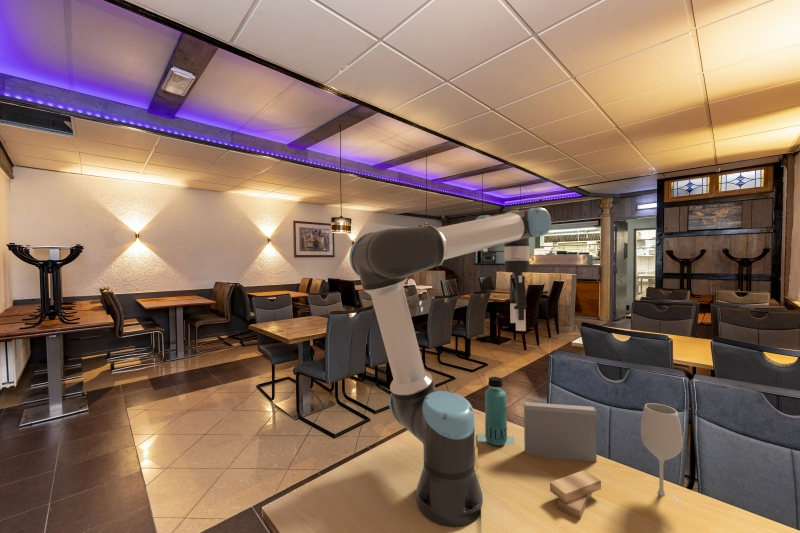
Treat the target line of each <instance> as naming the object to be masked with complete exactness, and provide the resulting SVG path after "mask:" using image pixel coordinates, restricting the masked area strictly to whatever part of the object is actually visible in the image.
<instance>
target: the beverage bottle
mask: <svg viewBox="0 0 800 533" xmlns="http://www.w3.org/2000/svg"><path fill="white" fill-rule="evenodd" d="M488 386H489V388H487V389H486V390H485V391H484V398H485V399H484V400H485V402H484V407H485V419H484V424H485V425H484V434H485V438H486V440H487V441H488V442H487V443H489V444H491V445H494V446H502V445H506V444H505V443H506V441H507V436H508V421H507V413H508V409H507V408H508V407H507V406H508V405H507V393H506V391H505V390H503V388H501V387H503V379H502V377H499V376H490V377H488Z"/></svg>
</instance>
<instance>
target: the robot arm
mask: <svg viewBox="0 0 800 533" xmlns="http://www.w3.org/2000/svg"><path fill="white" fill-rule="evenodd" d="M550 215H551V214H550V213H549V211H548V210H547V209H546V208H543V207H541V206H540V207H531V208H528V209H523V210H510V211H506V212H504V213H502V214H496V215H489V214H486V215H479V216H477V217H476V218H475V220H470V221H468V220H467V221H464V222H460V223H456V224H450V225H444V226H440V227H436V226H434V225H432V224H427V225H424V226H414V227H395V228H393V227H392V228H385V229H382V230H379V231H372V232H368V233H365V234H363V235H362V236H360V237H358V238H357V239H356V240H355V241H354V243H353V244H352V245H351V247H350V250H349V258H348V259H349V264H350V266H351V268H352V270H353V272H354V273H355V274H356V276H358V277H359V280H360V282H361V286H362V290H363V291H364V293H367V294H369V295H370V297H371V300H372V304H373V308H374V311H375V315H376V320H377V324H378V326H379V330H380V334H381V338H382V341H383V344H384V348H385V352H386V356H387V359H388V365H389V367H390V370H391V375H392V378H393V379H392V381H391V383H390V385H389V388H390V394H389V398H388V403H389V404H388V406H389V410H390V412H391V413H392V416H393V417H394V419H395V420H396V421H397V423H398V424H400V425H401V426H403V427H404V428H405V429H406V430H407V431H408V432H409V433H410V434H412V435H413V436H414V437H415V438H416V439H417V440H419V441H420V442H421V443H422V445H423V467H422V470H421V473H420V476H419V479H418V483H417V487H416V504H417V507H418V509H419V511H420V512H421V513H422V514H423V516H424V517H426V518H427V519H428V520H430V521H431V522H434V523H436V524H439V525H442V526H445V527H446V526H447V527H461V526H465V525H468V524H471V523H473V522H474V521H476V520H477V519H479V517H480V515H481V514H482V506H483V505H484V504H483V503H484V502H483V501H484V497H483V496H484V495H483V491H482V488H481V486H480V482H479V479H478V475H477V473H476V470H475V469H476V468H475V434H476V433H475V432H476V430H475V427H476V426H475V425H476V422H475V416H474V414H475V413H474V409H473V406H472V404H471V402H470V401H469V400H467V399H466V398H465V397H464V396H462V395H460V394H458V393H456V392H450V391H447V390H446V391H445V390H436V386H435V382H434V379H433V375H432V374H431V373H430V372H428V371H426V370H425V367H424V363H423V358H422V354H421V351H420V346H419V343H418V340H417V335H416V331H415V328H414V323H413V320H412V316H411V315H412V314H411V312H410V307H409V304H408V303H409V302H408V300H407V296H406V292H405V291H406V290H405V287H404V286H405V284H406V283H407V280H408V277H409V276H411V275H415V274H417V273H421V272H423V271H426V270H430V269H432V268H433V269H434V268H436V267H439V266H441V265H442V264H443V263H444V261H445V260H448V259H452V258H455V257H456V258H457V257H460V256H464V255H467V254H472V253H474V252H479V251H483V250H486V249H489V248H493V247H498V246H500V245H504V248H503V250H504V251H503V252H504V256H503V257H504V258H503V259H504V260H505V261H504V272H505V273H507V274H508V273H510V275H509V277H510V278H509V283H510V284H509V299H508V300H509V304H510V306H509V308H510V309H509V311H510V312H509V313H510V316H509V319H510V321H509V322H510V324H515V331H516V332H517V331H518V332H526V331H527V325H526V324H527V320H526V315H527V314H526V312H527V309H526V308H528V304H527V294H526V292H527V291H526V284H525V283H526V282H525V279H526V277H525V275H523V273H529V272H530V271H531V269H530V267H531V266H530V265H531V264H530V261H529V260H528V259H530V253H532V249H530V238H538V237H542V236H545V235H547V234H548V233H549V231H550V229H551V227H552V220H551V216H550Z"/></svg>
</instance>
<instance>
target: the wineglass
mask: <svg viewBox="0 0 800 533" xmlns="http://www.w3.org/2000/svg"><path fill="white" fill-rule="evenodd" d="M640 438H641V441H642V443H643V445H644V446H645V448H646V449H647V450H648V451H649V452H650V453H651V454H652V455H653V456H654V457H655V458H656V459H657V460H658V466H659V470H658V472H659V473H658V474H659V477H658V478H659V483H658V484H659V488H658V490H657V491H656V493H657V494H658V495H659V496H660V497H661V496H662V497H667V494H666V493H665V490H664V464H665V461H667V460H671V459H672V458H675V457H676V456H678V455H679V454H680V453H681V452H682V449H683V444H684V440H683V439H684V438H683V430H682V425H681V421H680V417H679V413H678V410H676V409H675V408H674V407H671V406H668V405H665V404H662V403H653V402H652V403H645V404H644V407H643V410H642V415H641V422H640ZM671 496H672V497H673V498H674V499H675V501H676V502H677V503H678V504H679V505H680V506H681V507H683V504H682V502H681V501H680V499H679V498H677V496H675V495H674V494H671Z"/></svg>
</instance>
